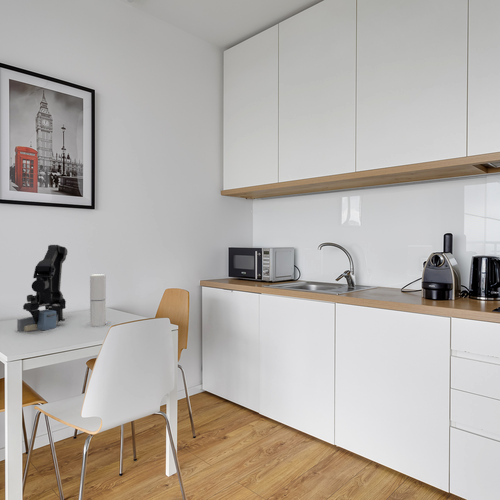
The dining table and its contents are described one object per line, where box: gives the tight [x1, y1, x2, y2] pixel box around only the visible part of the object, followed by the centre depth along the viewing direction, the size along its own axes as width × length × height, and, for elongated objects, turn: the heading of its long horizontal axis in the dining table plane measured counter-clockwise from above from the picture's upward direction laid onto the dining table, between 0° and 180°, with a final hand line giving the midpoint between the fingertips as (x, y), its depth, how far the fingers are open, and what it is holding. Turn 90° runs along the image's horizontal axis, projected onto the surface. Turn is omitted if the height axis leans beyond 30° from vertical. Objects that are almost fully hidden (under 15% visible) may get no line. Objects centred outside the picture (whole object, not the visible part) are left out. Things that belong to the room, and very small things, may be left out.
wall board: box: [16, 315, 59, 333], centre depth 189 cm, size 20×4×6 cm, turn 155°
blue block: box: [34, 309, 57, 331], centre depth 187 cm, size 6×8×8 cm
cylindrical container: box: [89, 273, 107, 327], centre depth 195 cm, size 7×7×25 cm
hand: (45, 321), depth 187 cm, fingers open, 9 cm apart
